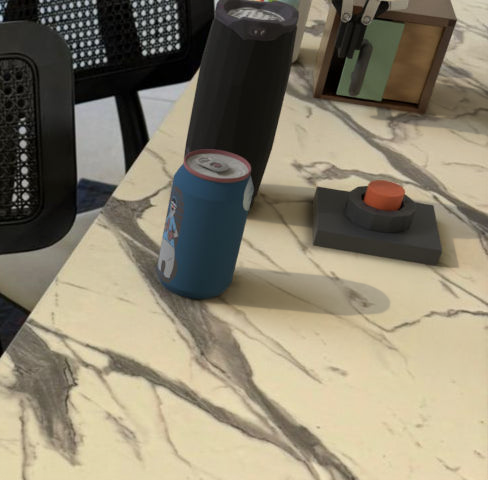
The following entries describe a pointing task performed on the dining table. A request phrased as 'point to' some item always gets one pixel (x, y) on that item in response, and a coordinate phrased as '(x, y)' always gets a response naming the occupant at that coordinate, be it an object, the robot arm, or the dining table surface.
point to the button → (384, 195)
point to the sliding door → (371, 61)
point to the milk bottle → (302, 4)
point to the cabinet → (406, 59)
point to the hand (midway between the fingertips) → (344, 54)
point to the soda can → (205, 223)
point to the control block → (375, 227)
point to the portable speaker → (243, 81)
